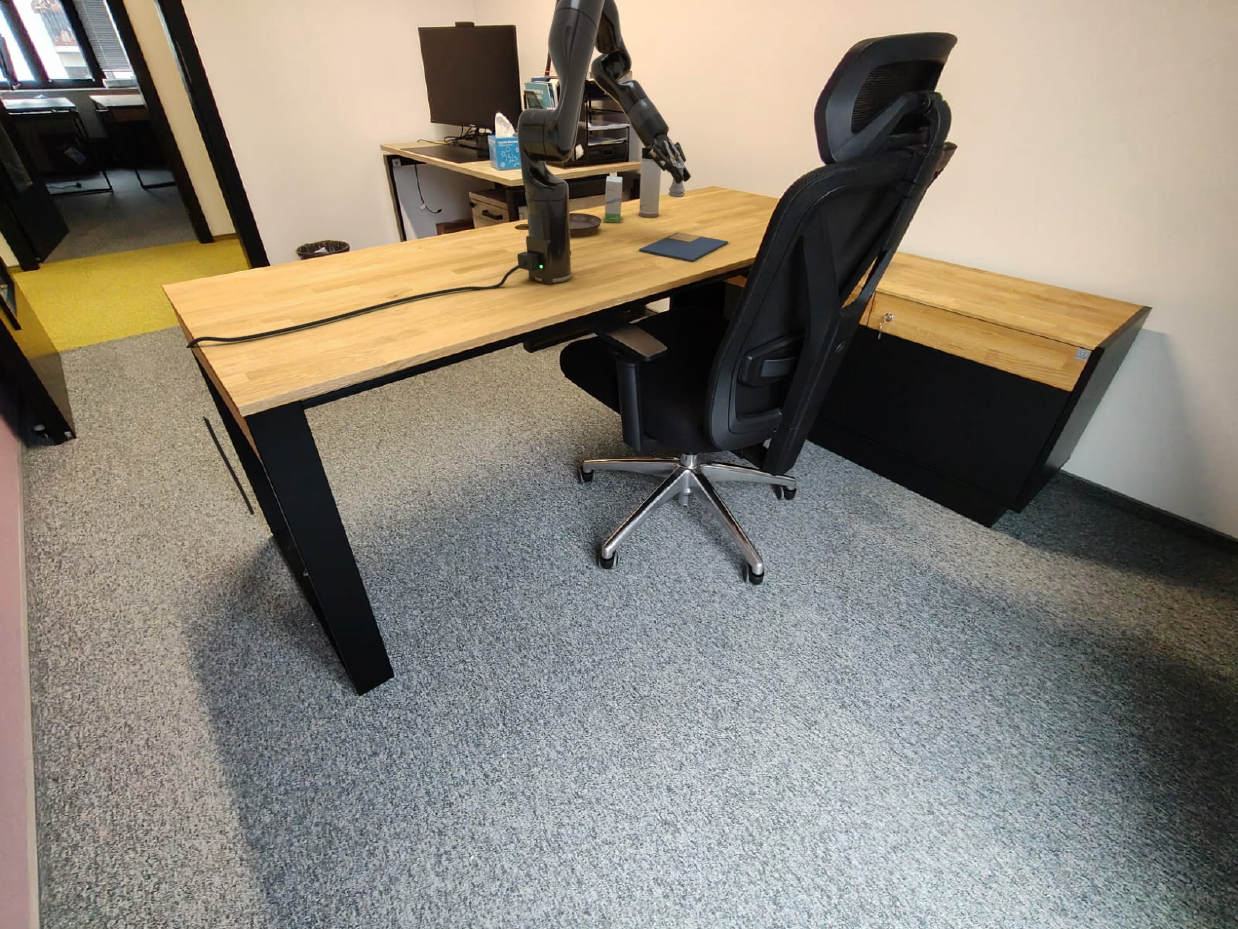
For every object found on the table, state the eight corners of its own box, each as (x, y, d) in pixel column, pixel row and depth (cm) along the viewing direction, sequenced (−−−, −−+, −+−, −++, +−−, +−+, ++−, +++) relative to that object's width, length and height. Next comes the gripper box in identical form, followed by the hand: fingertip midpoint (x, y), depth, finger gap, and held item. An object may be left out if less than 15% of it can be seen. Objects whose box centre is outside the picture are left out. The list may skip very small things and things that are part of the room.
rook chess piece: (673, 193, 153) (676, 160, 149) (687, 195, 151) (690, 162, 147) (665, 195, 150) (667, 162, 146) (679, 198, 148) (682, 164, 144)
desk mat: (692, 262, 143) (692, 258, 142) (639, 251, 149) (639, 247, 149) (728, 243, 158) (728, 240, 157) (678, 234, 164) (678, 231, 164)
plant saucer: (559, 241, 155) (559, 230, 153) (531, 227, 167) (530, 216, 165) (613, 233, 163) (613, 222, 161) (582, 220, 175) (582, 210, 173)
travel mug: (637, 217, 181) (640, 146, 169) (640, 212, 186) (643, 143, 174) (657, 218, 180) (661, 147, 168) (659, 213, 185) (663, 144, 173)
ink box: (605, 216, 181) (605, 175, 174) (621, 216, 181) (622, 176, 174) (604, 222, 174) (604, 180, 167) (621, 223, 174) (622, 181, 167)
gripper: (643, 113, 138) (682, 174, 140) (670, 110, 148) (706, 167, 150) (624, 136, 143) (662, 194, 146) (651, 131, 153) (687, 186, 155)
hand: (684, 180), depth 148 cm, fingers closed on rook chess piece, 3 cm apart
